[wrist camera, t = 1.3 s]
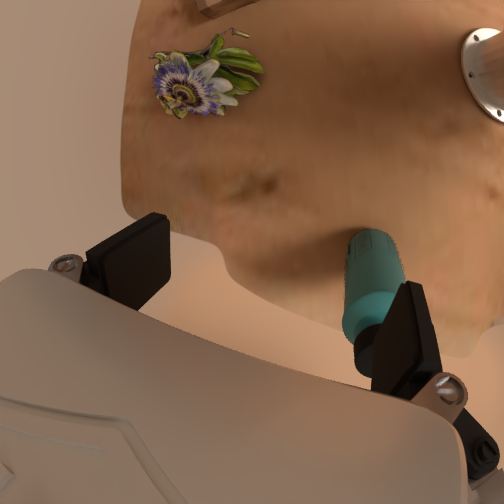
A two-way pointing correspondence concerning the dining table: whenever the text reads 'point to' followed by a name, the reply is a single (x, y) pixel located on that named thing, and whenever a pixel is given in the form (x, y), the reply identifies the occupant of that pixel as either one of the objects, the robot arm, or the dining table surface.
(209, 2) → the wooden tray
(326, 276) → the dining table surface
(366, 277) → the beverage bottle
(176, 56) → the passion flower
